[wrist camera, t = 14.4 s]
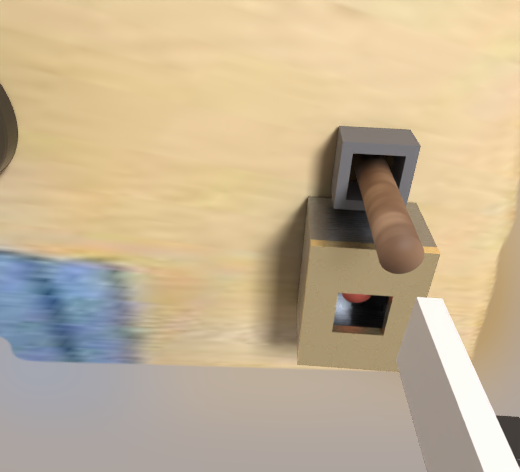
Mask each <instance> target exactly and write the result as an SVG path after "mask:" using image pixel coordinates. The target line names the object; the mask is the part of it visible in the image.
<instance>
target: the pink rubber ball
mask: <svg viewBox="0 0 520 472" xmlns="http://www.w3.org/2000/svg"><path fill="white" fill-rule="evenodd" d="M342 296H343V297H344V299H346V300H347V301H349V302H353V303H360V302H364V301H366V300H367V299H369V298H370V297H371V296H372V295H364V294H349V293H342Z"/></svg>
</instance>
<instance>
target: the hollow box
mask: <svg viewBox="0 0 520 472" xmlns="http://www.w3.org/2000/svg"><path fill="white" fill-rule="evenodd" d="M406 208H407V211H408V213H409V215H410V218H411V220H412V222H413V225H414V227H415V230H416V232H417V234H418V237H419V239H420V241H421V244H422V246H423V248H424V259H423V261H422V263H421V264H420V265H419V266H418V267H417V268H416V269H415V270H413V271H411V272H408V273H404V274H394V273H390V272H388V271H386V270H385V269H383V268H382V266H381V265H380V263H379V259H378V255H377V252H376V248H375V244H374V240H373V237H372V233H371V229H370V225H369V222H368V218H367V214H366V211H364V210H348V209H334V207H333V201H332V198H321V197H308V204H307V213H306V223H305V233H304V243H303V253H302V262H301V272H300V282H299V292H298V301H297V365H309V366H323V367H337V368H350V369H364V370H378V371H392V372H399V369H398V366H397V362H396V358H397V355H398V352H399V349H400V346H401V343H402V340H403V337H404V334H405V331H406V328H407V325H408V322H409V318H410V315H411V312H412V309H413V306H414V303H415V300H416V297H425V298H427V295H428V292H429V289H430V286H431V282H432V279H433V276H434V273H435V269H436V266H437V263H438V260H439V256H440V252H439V250H438V248H437V246H436V244H435V242H434V240H433V238H432V235H431V233H430V231H429V229H428V227H427V225H426V223H425V221H424V218H423V216H422V214H421V212H420V210H419V208H418V206H417V204H416V203H407V205H406ZM342 293H349V294H364V295H372V296H371V297H370V298H369V299H367V300H366V301H364V302H360V303H353V302H349V301H347V300H346V299H344V297H343V296H342Z"/></svg>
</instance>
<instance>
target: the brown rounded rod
mask: <svg viewBox="0 0 520 472" xmlns="http://www.w3.org/2000/svg"><path fill="white" fill-rule="evenodd" d="M353 165H354V169H355V173H356V176H357V180H358V184H359V188H360V192H361V195H362V199H363V203H364V207H365V210H366V214H367V218H368V222H369V225H370V229H371V233H372V237H373V240H374V244H375V248H376V252H377V255H378V259H379V263H380V265H381V266H382V268H383V269H385V270H386V271H388V272H390V273H394V274H404V273H408V272H411V271H413V270H415V269H416V268H417V267H418V266H419V265H420V264H421V263H422V261H423V259H424V248H423V246H422V244H421V241H420V239H419V237H418V234H417V232H416V230H415V227H414V225H413V222H412V220H411V218H410V215H409V213H408V211H407V208H406V206H405V204H404V201H403V199H402V196H401V194H400V192H399V189H398V187H397V185H396V182H395V180H394V178H393V175H392V173H391V171H390V168H389V166H388V163H387V161H386V159H385V156H384V155H374V154H355V156H354V159H353Z"/></svg>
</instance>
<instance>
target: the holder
mask: <svg viewBox="0 0 520 472" xmlns="http://www.w3.org/2000/svg"><path fill="white" fill-rule="evenodd" d="M419 151H420V144H419V143H418V141H417V139H416V138H415V136H414V135H413V133H412V131H411V130H404V129H385V128H366V127H347V126H339V131H338V139H337V146H336V154H335V161H334V169H333V177H332V184H331V194H332V201H333V207H334V209H348V210H364V211H366V210H365V207H364V203H363V199H362V195H361V192H360V188H359V184H358V182H352V181H349V176H350V170H351V163H352V157H353V153H355V154H374V155H392V156H394V159H393V163H392V168H391V173H392V175H393V178H394V180H395V182H396V185H397V187H398V189H399V192H400V194H401V196H402V199H403V201H404V204H405V206H406V205H407V201H408V196H409V192H410V188H411V184H412V180H413V176H414V171H415V167H416V163H417V159H418V155H419Z"/></svg>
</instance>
